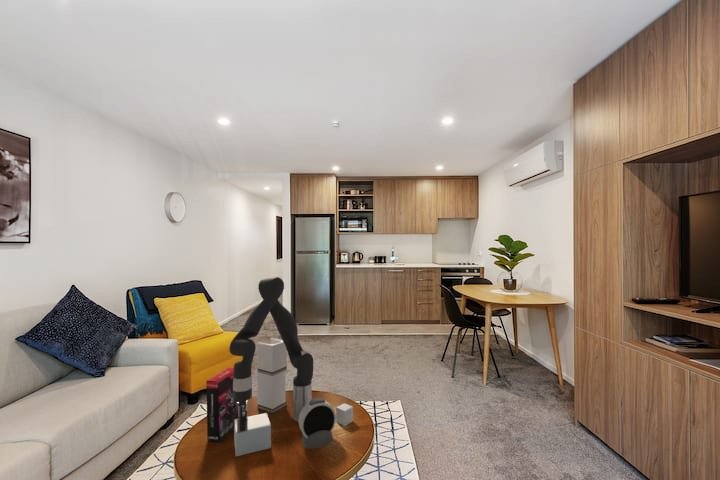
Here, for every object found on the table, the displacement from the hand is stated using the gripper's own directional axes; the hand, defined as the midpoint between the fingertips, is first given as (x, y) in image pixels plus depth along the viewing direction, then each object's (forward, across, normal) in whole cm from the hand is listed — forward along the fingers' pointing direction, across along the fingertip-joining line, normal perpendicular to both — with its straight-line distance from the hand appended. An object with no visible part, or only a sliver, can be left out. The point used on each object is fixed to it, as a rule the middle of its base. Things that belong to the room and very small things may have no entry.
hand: (242, 428), depth 137 cm
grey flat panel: (+10, 0, -5) cm, 11 cm away
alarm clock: (+11, -3, -32) cm, 34 cm away
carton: (+11, +6, -4) cm, 13 cm away
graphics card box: (+11, +22, +6) cm, 26 cm away
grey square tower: (+11, +39, -18) cm, 45 cm away
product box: (+11, +7, -48) cm, 50 cm away
